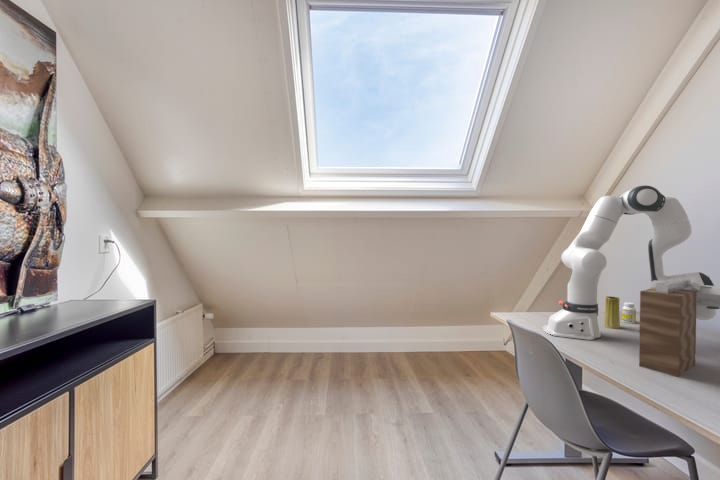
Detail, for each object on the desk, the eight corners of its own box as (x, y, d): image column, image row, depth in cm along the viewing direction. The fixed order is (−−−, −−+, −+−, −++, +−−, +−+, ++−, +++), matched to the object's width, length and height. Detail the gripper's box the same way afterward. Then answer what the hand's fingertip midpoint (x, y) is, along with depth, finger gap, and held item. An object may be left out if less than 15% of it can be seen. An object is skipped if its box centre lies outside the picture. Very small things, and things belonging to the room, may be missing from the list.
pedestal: (678, 377, 104) (679, 296, 103) (639, 366, 112) (640, 291, 112) (695, 365, 112) (696, 290, 111) (657, 356, 121) (658, 286, 120)
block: (667, 293, 107) (667, 284, 107) (656, 292, 110) (656, 283, 110) (690, 286, 118) (690, 278, 118) (679, 285, 121) (679, 277, 121)
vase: (623, 329, 153) (623, 299, 153) (608, 328, 154) (608, 298, 154) (615, 325, 159) (615, 296, 159) (601, 324, 160) (601, 296, 160)
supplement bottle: (627, 323, 162) (628, 304, 161) (619, 320, 167) (619, 302, 167) (638, 323, 162) (638, 304, 161) (629, 320, 167) (629, 301, 167)
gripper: (658, 285, 134) (646, 271, 127) (733, 293, 116) (723, 277, 110) (655, 299, 132) (643, 285, 126) (730, 310, 114) (720, 294, 108)
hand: (681, 282), depth 118 cm, fingers closed on block, 3 cm apart
